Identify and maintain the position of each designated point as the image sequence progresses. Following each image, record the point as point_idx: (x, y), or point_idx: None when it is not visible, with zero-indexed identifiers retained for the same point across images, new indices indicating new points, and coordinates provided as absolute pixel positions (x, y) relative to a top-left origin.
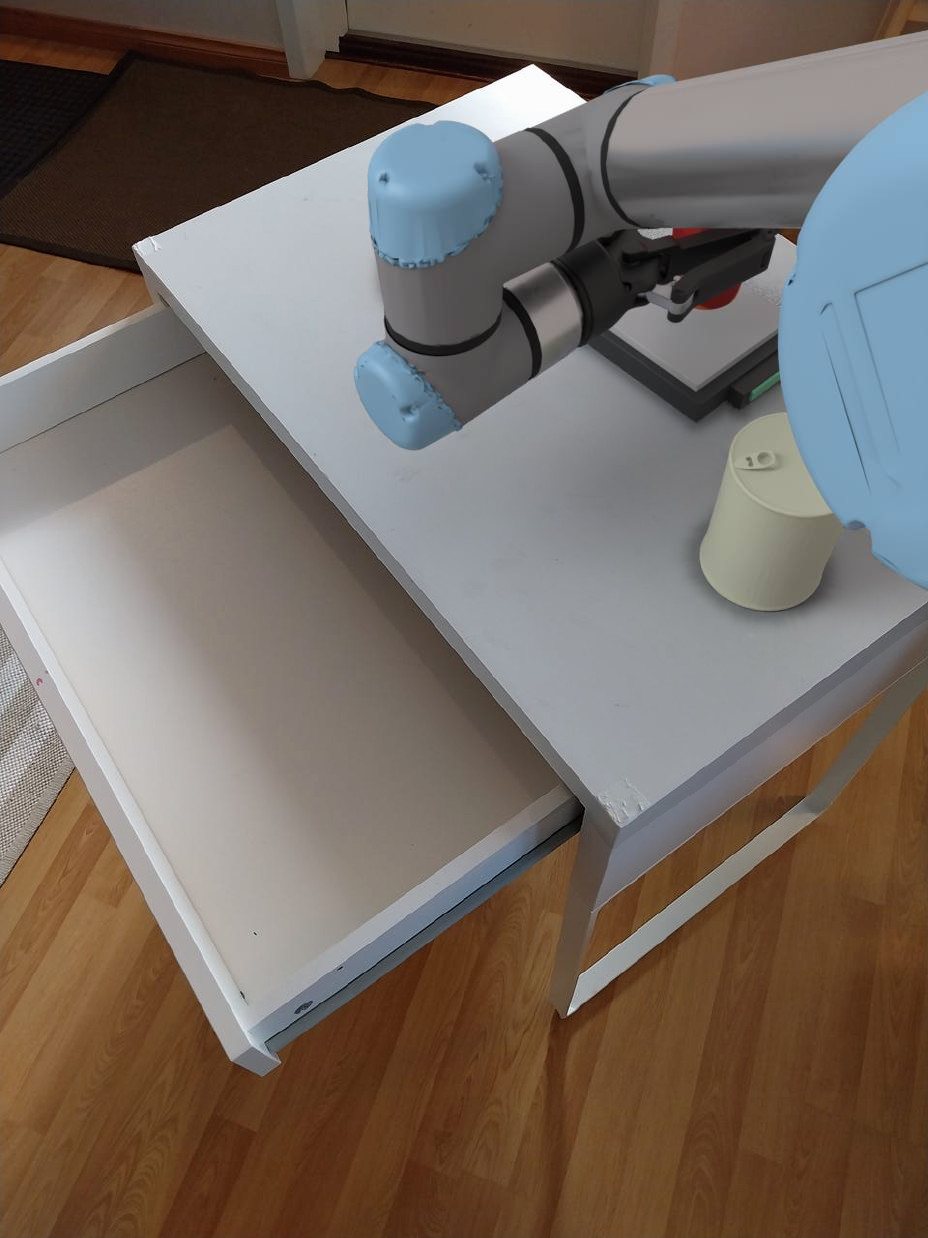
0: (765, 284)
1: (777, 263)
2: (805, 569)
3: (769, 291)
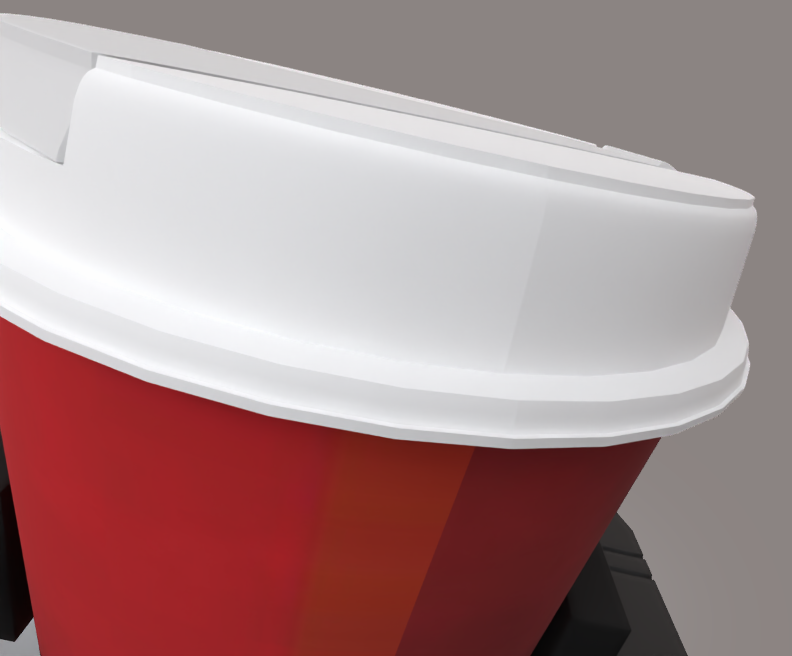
0: None
1: None
2: None
3: None
